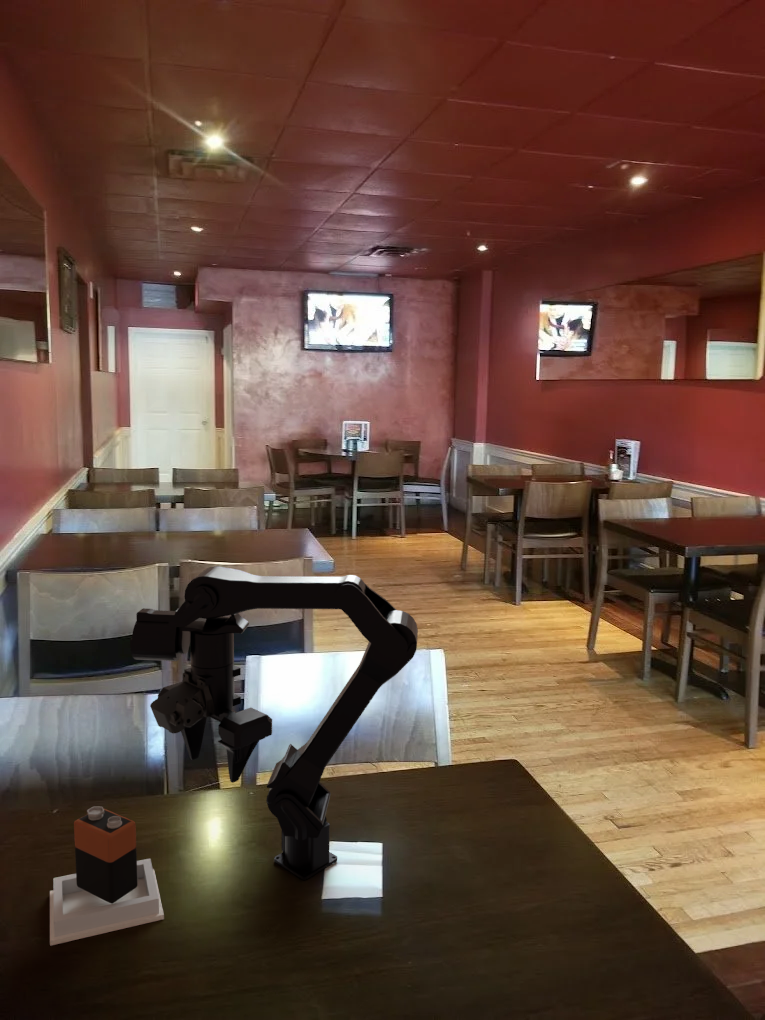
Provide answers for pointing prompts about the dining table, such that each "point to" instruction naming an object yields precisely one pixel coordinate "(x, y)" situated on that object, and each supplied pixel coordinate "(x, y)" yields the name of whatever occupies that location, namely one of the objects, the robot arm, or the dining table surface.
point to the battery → (105, 854)
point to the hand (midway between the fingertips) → (214, 769)
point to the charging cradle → (102, 907)
